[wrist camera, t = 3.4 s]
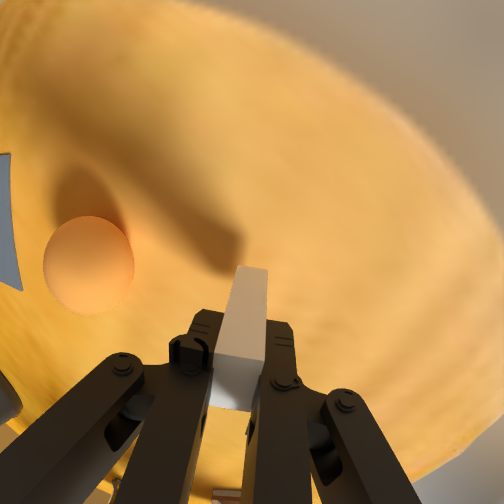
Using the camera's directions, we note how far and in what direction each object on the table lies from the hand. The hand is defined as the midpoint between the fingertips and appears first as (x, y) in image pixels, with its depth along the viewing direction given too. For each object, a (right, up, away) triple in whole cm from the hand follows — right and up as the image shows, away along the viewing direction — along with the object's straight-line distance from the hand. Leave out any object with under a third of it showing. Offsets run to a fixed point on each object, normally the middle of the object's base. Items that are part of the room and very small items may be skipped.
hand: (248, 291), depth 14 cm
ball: (-9, +1, -1) cm, 9 cm away
